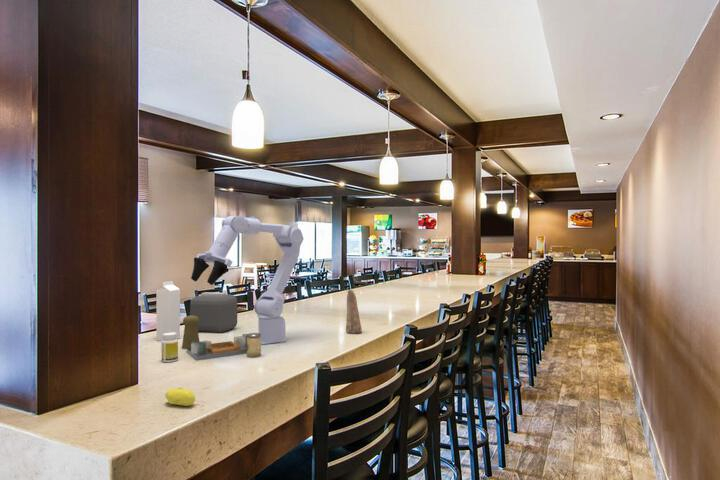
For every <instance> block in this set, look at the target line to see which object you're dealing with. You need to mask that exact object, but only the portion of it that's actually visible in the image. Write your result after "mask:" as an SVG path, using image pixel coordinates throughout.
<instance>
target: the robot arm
mask: <svg viewBox="0 0 720 480" xmlns="http://www.w3.org/2000/svg"><path fill="white" fill-rule="evenodd" d="M261 232H262V233H270V234H272V237H273V238H275V241H276V243H277V245H278V246H279V248H280V249H281V251H282V252H283V256H282V257H281V260H280V262H279V264H278V266H277V268H276V271H275V273H274V275H273V278H272V281H271V282H270V284H269V287H267V288H268V289H267V290H266V291H265V292H263V293H261V295H260V296H259V298H258V299H257V300H256V301H255V303H254V306H253V310H254V312H255V314H256V315H257V318H258V333H261V345H268V344H269V345H270V344H275V343H276V344H277V343H283V342H287V339H286V320H285V317H284V316H281V314H282V313H283V307H284V303H285V299H284V297H283V296H282V295H283V293H284V291H285V288H286V286H287V284H288V281H289V279H290V277H291V274H292V272H293V270H294V267H295V265H296V263H297V260H299V259H298V258H299V257H300V251H301V245H302V243H303V241H304V236H303V232H302V230H301V229H300V228H299V227H293V226H291V225H286V224H281V223H280V224H279V223H266V222H261V221H260V220H259V219H258V218H256V216H249V217H244V216H243V215H231V216H229V215H228V216H227V217H225V218H224V219H222V222H221V228H220V230H219V233H218V234H217V236H216V238H215V240H213V243H212V245H211V246H210V249H209V250H208V251H205V252H204V253H198V254H197V255H196V257H194V258H193V270H192V274H191V277H190V279H191V280H192V281H194V282H197V281H199V279H200V277H201V276H202V274H203V273H204V272H205V271H206V270H207V269H208V268H209V267H210V265H209V264H208V263H211V264H213V267H212V270H211V272H210V274H209V277H208V278H207V283H208V284H209V285H210V286H213V285H214V284H215V283H216V282H217V281H218V280H219V279H220V278H221V277H223V275H225V274H226V273H228V272H229V270H230V269H229V268H230V267H231V266H232V264H233V261H232V260H231V259H230V258H226V257H227V255H228V254H229V252H230V251H231V248H232V247H233V245H234V243H235V241H236V239H237V238H238V236H239V234H245V235H246V234H247V235H258V234H259V233H261ZM228 267H229V268H228Z"/></svg>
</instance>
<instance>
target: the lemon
mask: <svg viewBox="0 0 720 480" xmlns="http://www.w3.org/2000/svg"><path fill="white" fill-rule="evenodd" d="M164 396H165V399H166V400H167V401H168V402H167V403H169V404H170V405H178V406H182V407H183V406H184V407H190V406H192V405H193V404H194V403H195V401H196V395H195V393H194V392H193V390H192V391H191V389H188V388H184V387H176V388H170V389H168V390H167V391H166V392H165V394H164Z"/></svg>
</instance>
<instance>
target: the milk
mask: <svg viewBox="0 0 720 480" xmlns="http://www.w3.org/2000/svg"><path fill="white" fill-rule="evenodd" d="M155 296H156V299H155V300H156V304H155V305H156V309H155V310H156V318H155V319H156V323H155V324H156V341H157V340H158V342H162V340H164V339H163V334H165V333H176V334H177V338H176V339H177V340H178V339H180V338H181V313H180V312H181V290H180V287H178V286H176V285H174V281H173V280H170V281H163V282H162V286H161V287H159V288H158V289H156V295H155Z"/></svg>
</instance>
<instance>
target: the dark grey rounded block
mask: <svg viewBox="0 0 720 480" xmlns="http://www.w3.org/2000/svg"><path fill="white" fill-rule="evenodd" d="M189 307H190V309H189V311H190V312H189V313H190V315H189V316H191V315H192V316H197V317H198V318H199V322H198V324H197V327H198V332H207V333H224V332H226V331H230V330H232V329H235V328H236V327H237V325H238V298H237V296H235V295H233V294H228V293H227V292H210V291H209V292H201V294H200V295H197V296H194V297H192V299H190V303H189Z"/></svg>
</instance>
